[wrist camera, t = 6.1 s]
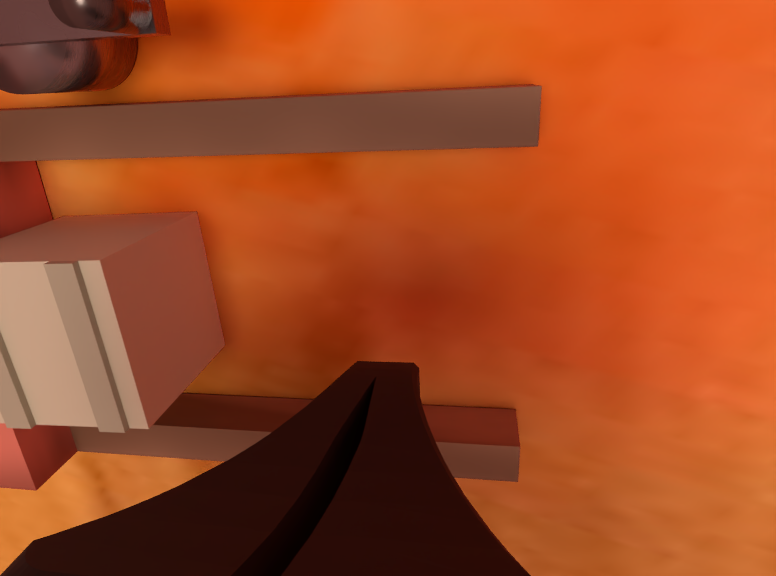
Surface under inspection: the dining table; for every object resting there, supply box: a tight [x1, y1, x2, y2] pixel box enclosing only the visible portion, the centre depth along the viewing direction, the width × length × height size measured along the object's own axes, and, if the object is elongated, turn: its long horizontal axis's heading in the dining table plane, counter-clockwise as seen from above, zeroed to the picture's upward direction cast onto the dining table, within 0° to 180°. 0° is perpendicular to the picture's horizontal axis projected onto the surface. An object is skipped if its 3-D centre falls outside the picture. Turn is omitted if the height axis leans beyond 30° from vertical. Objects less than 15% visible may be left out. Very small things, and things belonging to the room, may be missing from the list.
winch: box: [0, 0, 171, 94], centre depth 13 cm, size 3×6×6 cm, turn 92°
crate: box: [0, 211, 225, 433], centre depth 16 cm, size 5×5×5 cm
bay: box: [0, 84, 542, 490], centre depth 16 cm, size 12×17×4 cm
